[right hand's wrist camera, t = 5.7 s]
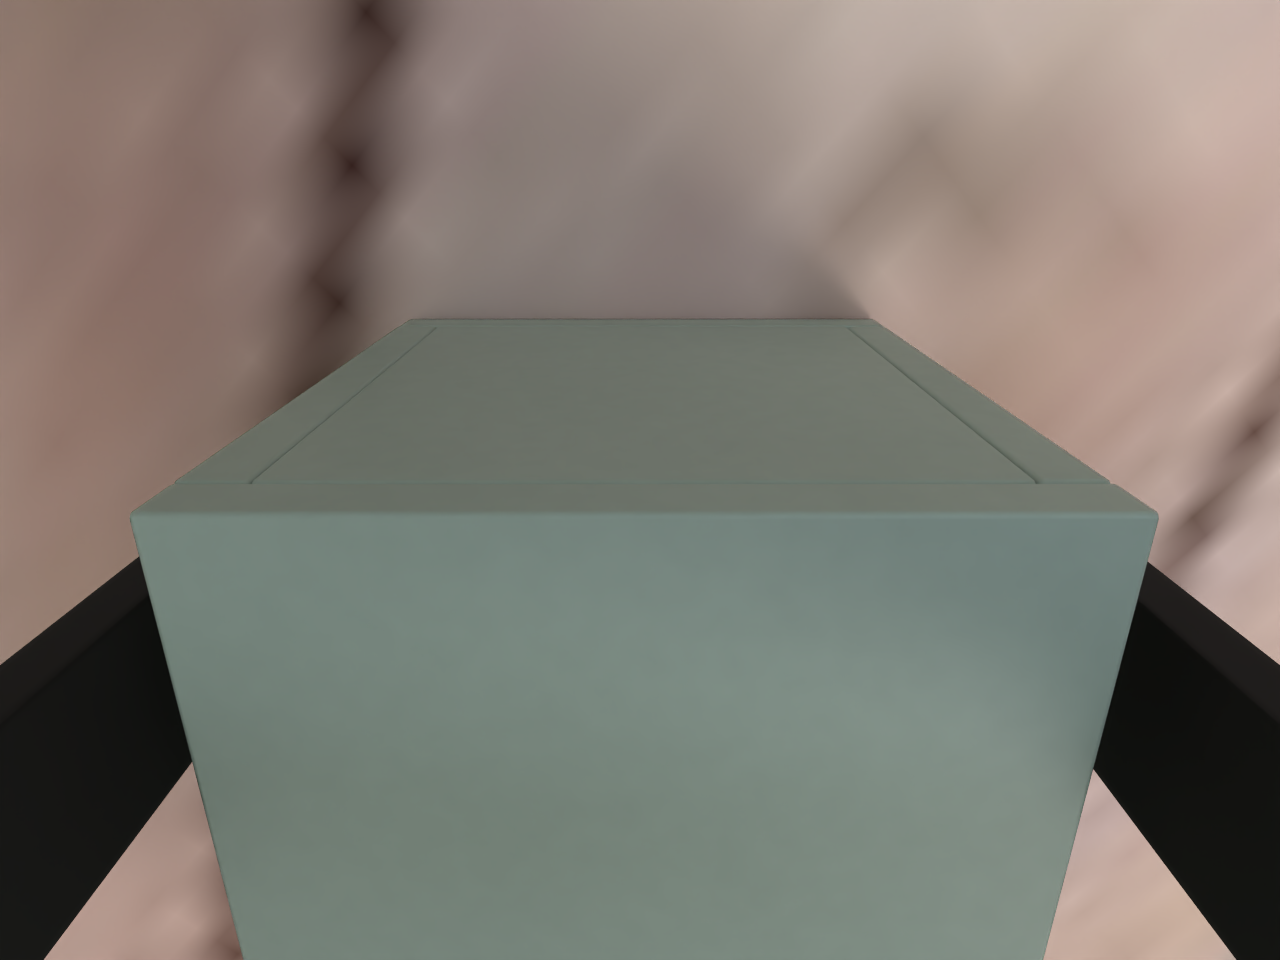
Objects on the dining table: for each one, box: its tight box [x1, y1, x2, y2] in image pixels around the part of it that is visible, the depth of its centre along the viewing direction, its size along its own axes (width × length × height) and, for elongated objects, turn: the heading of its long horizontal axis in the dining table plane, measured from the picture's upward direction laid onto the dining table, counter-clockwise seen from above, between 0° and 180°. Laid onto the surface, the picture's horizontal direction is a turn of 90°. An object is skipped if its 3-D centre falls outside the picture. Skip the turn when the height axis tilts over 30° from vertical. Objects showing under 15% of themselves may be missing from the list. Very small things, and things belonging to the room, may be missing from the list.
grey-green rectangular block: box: [130, 319, 1159, 960], centre depth 16 cm, size 17×10×10 cm, turn 0°
